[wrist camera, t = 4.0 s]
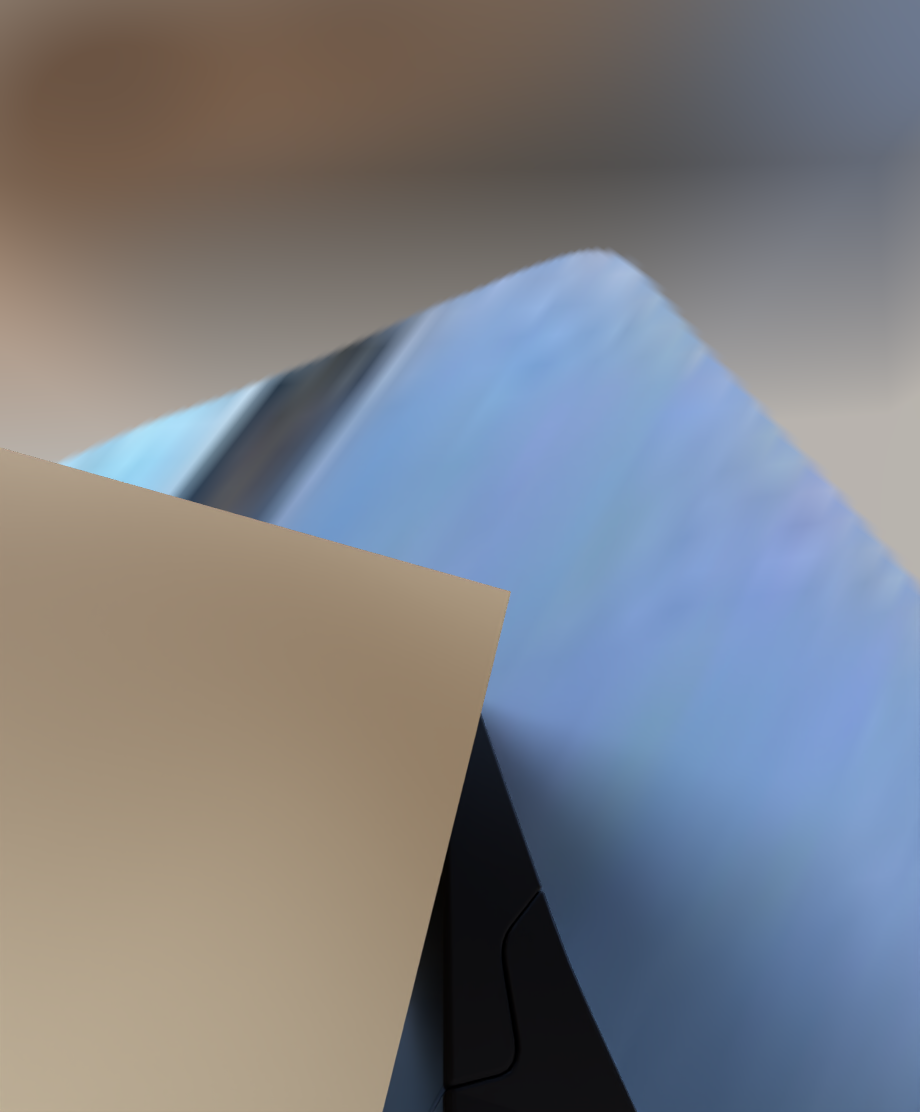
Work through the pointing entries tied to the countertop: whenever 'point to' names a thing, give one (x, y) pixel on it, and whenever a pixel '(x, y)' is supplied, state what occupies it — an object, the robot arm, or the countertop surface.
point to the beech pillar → (217, 798)
